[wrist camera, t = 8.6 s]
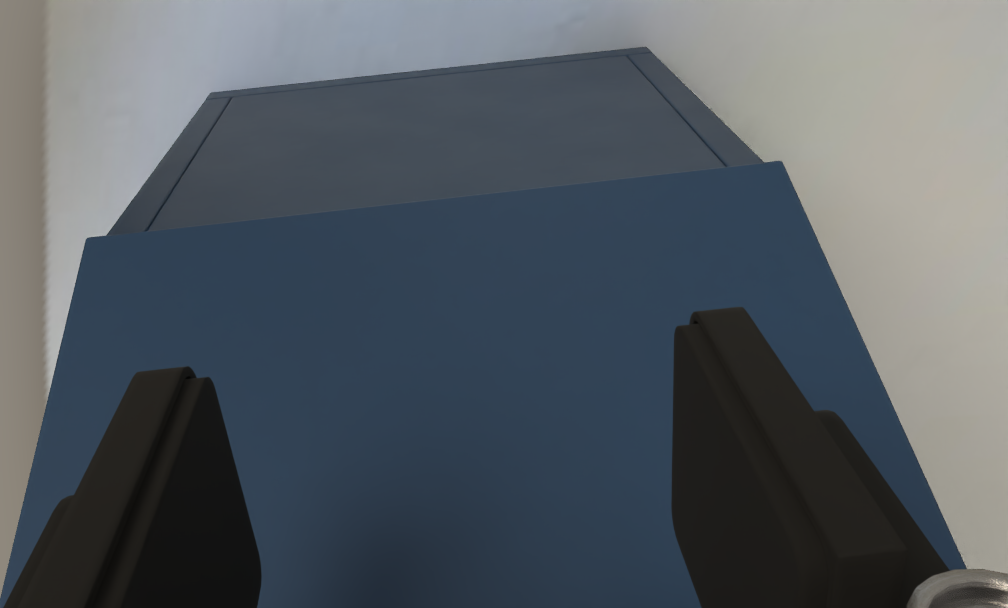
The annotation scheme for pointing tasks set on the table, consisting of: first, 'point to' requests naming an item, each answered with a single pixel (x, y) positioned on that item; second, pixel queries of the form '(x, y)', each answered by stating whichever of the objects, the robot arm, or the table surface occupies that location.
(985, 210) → the table surface
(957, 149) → the table surface
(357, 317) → the cooler lid
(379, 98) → the cooler
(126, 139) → the table surface
